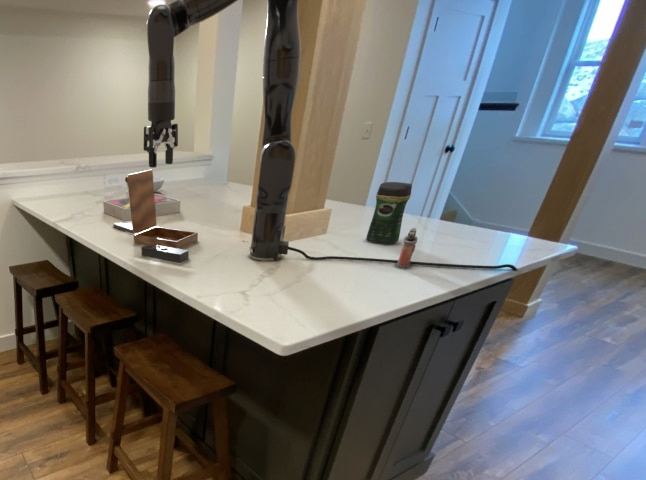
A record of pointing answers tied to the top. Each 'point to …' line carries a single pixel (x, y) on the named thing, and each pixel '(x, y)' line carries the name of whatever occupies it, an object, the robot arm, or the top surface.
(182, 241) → the chest
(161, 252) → the remote
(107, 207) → the product packaging
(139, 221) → the lid
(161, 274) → the top surface
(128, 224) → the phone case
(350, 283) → the top surface
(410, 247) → the lighter
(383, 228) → the coffee jar
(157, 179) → the serving bowl
